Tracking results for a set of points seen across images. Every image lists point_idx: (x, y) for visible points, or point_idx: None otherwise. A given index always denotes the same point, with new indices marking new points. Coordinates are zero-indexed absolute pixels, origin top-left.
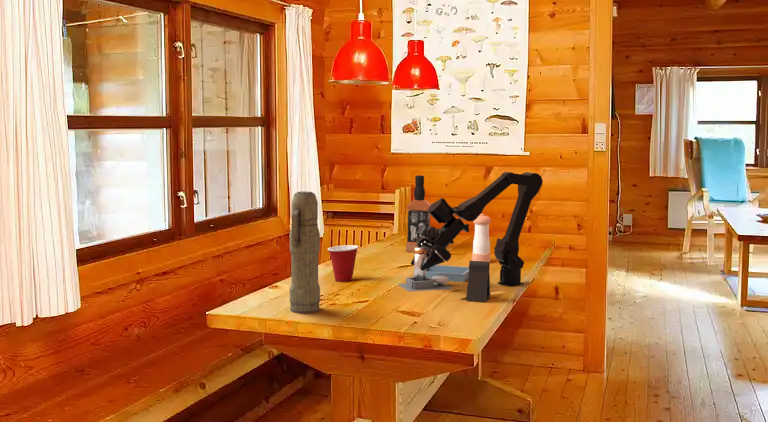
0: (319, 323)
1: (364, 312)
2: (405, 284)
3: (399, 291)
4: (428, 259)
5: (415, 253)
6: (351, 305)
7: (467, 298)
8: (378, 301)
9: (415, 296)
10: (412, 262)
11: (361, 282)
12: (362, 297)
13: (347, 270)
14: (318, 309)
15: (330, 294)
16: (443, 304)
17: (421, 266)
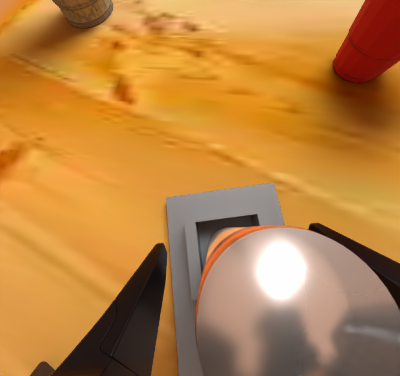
0: (3, 29)
1: (37, 89)
2: (263, 206)
3: (209, 182)
4: (101, 319)
5: (235, 232)
6: (96, 72)
7: (33, 372)
8: (114, 120)
9: (142, 213)
10: (316, 232)
11: (332, 103)
12: (159, 94)
13: (357, 37)
14: (74, 24)
15: (198, 42)
16: (33, 268)
17: (154, 251)
